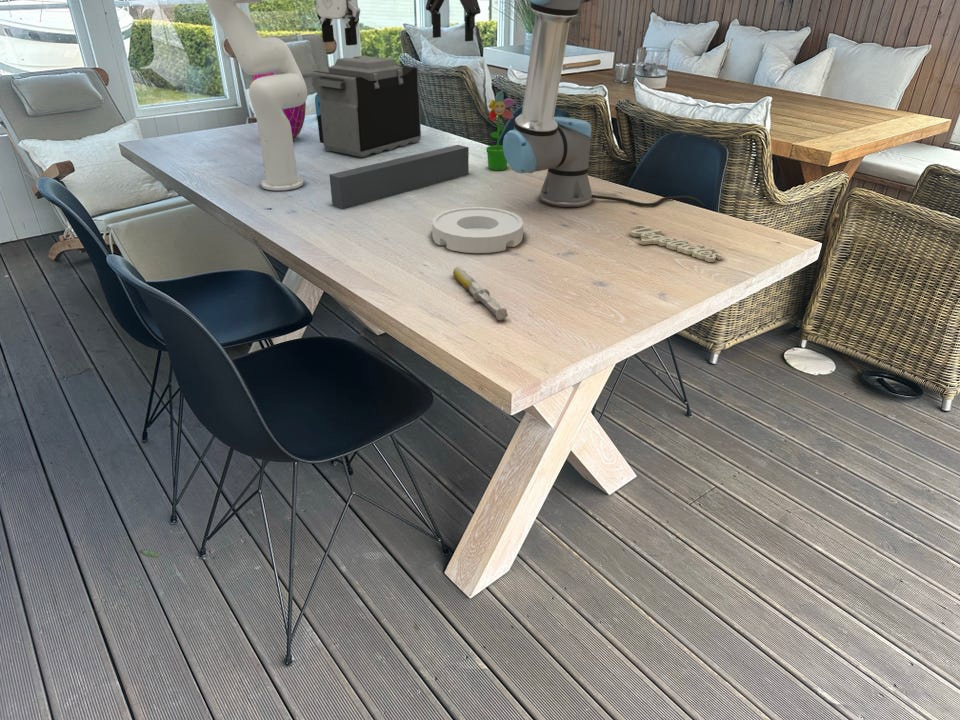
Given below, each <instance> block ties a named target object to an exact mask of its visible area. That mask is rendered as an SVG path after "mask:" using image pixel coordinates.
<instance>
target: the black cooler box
mask: <svg viewBox="0 0 960 720" xmlns="http://www.w3.org/2000/svg"><path fill="white" fill-rule="evenodd" d="M310 79H311V87H313V90H314V91H315V93H316V94H318V96H319V98H320V111H321V115H319V116H318V117H317V116H316V119H317V128H318V138H319V143H320V144H323V146H324V149H325V150H327V151H330V152H335V153H340V154H344V155H348V156H353V157H357V158H362V159H363V158H366V157H367V158H368V157H369V155H371V154H375V155H377V154H381V153H382V152H383V151H391V150H395V149H396V148H397V147H405V146H407V145H408V144H416V143H418V142H419V141H421V137H422V128H421V97H420V92H419V91H420V89H419V68H418V67H417V66H408V65H400V64H396V62H395V60H394V59H393V58H385V57H377V56H367V55H356V56H353V57H350V58H349V57H343V58H342V57H341V58H337V59H336V60H335V63H334V64H333V65H330V66H329V67H328V72H327V71H320V70H314V71H313V70H312V71H310Z"/></svg>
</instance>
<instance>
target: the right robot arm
mask: <svg viewBox="0 0 960 720" xmlns="http://www.w3.org/2000/svg"><path fill="white" fill-rule="evenodd" d="M528 1H529V2H530V10H531V11H532V13H533V14H534V16H535V18H534V25H533V32H532V40H531V47H530V53H529V60H528V67H527V74H526V82H525V86H524V87H525V88H524V95H523V101H522V109H521V113H520V114H519V115H518V116H516V118H515V119H514V124H513V125H514V126H513V129H510V130H509V131H507V132H506V133H505V135H504V136H503V141H502V146H503V152H504V156H505V159H506V160H507V166H508V167H510V169H511V170H513V171H514V172H515V173H517V174H533V173H536V172H541V171H546V170H547V173H546V176H545V178H544V181H543V184H542V187H541V189H540V192H539V200H540V202H542V203H543V204H546V205H549V206H553V207H558V208H559V207H560V208H580V207H584V206H588V205H589V204H591V203H592V199H598V200H599V199H601V200H608V201H617V202H623V203H628V204H632V205H636V206H640V207H655V206H657V205H659V204H661V203H662V202H664V201H669V200H691V201H693V202H695V203H697V204H698V205H699V206H700V207H703V206H704V204H703V202H702V201H701V200H700V199H698V198H697V197H694V196H690V195H675V196H673V195H672V196H664V197H662V198H660V199H658V200H657V201H654V202H640V201H635V200H631V199H628V198H627V199H626V198H623V197H622V198H621V197H616V196H615V197H614V196H607V195H598V194H593V193H592V188H591V184H590V179H589V165H590V153H591V144H592V138H593V136H592V125H591V124H590V123H589V122H588V121H586V120H583V119H579V118H574V117H573V118H571V117H566V116H555V112H556V106H557V99H558V95H559V94H558V93H559V90H560V89H559V88H560V83H561V78H562V71H563V65H564V60H565V53H566V49H567V41H568V37H569V31H570V26H571V25H570V24H571V21H572V20H574V19H575V18H576V17H577V16H579V15H578V13H579V9H580V4H583V3H590V2H594V1H595V0H528ZM444 2H445V0H427V2H426V4H425V10H426V11H428V12H429V13H430V22H431V26H432V38H433V39H436V38H437V39H438V38H441V37H442V31H441V30H442V25H441V24H442V23H441V22H442V21H441V15H442V14H441V12H440V9H441V8H442V6H443V4H444ZM459 2H460V4H461V6H462V8H463V10H464V12H465V14H466V15H465V16H464V42H473V41H474V29H475V26H476V25H475V24H476V16H477V15H479V14H481V13H482V12H481V8H480V5H479V1H478V0H459Z"/></svg>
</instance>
